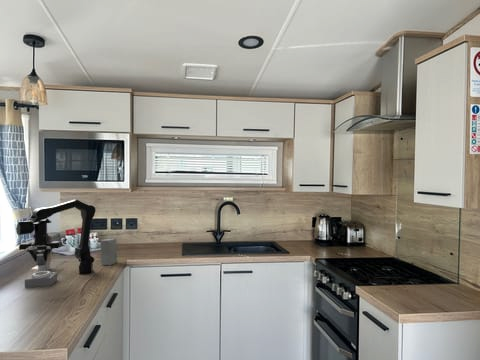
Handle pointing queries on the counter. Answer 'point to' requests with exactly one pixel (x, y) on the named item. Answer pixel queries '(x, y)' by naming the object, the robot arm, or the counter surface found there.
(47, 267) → the coffee cup
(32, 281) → the camera body
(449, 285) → the counter surface
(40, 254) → the lens
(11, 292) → the counter surface
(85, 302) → the counter surface
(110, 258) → the skincare box
